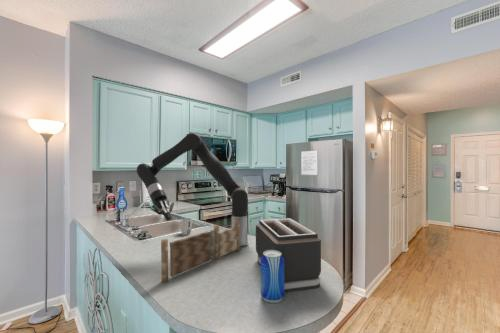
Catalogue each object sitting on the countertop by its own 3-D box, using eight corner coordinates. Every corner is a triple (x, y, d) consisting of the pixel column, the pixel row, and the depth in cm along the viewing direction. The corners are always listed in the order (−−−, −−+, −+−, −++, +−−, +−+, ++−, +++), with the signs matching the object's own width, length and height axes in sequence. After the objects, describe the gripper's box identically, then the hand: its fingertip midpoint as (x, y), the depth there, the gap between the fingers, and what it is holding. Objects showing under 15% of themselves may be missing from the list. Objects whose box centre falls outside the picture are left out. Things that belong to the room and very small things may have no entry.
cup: (189, 236, 158) (188, 221, 158) (177, 235, 160) (177, 220, 160) (194, 232, 166) (194, 218, 166) (183, 231, 168) (183, 217, 167)
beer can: (259, 291, 89) (259, 249, 89) (281, 290, 90) (281, 248, 89) (262, 305, 81) (262, 258, 80) (286, 303, 81) (286, 257, 81)
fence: (237, 248, 134) (236, 218, 133) (240, 249, 132) (240, 219, 132) (160, 281, 97) (159, 240, 97) (163, 283, 95) (163, 241, 95)
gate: (212, 257, 119) (212, 229, 119) (215, 258, 117) (215, 230, 117) (170, 275, 100) (169, 242, 100) (172, 277, 99) (172, 243, 99)
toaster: (289, 254, 126) (289, 216, 125) (323, 287, 92) (323, 235, 92) (254, 257, 121) (254, 218, 121) (276, 293, 88) (276, 239, 87)
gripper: (147, 189, 120) (160, 217, 113) (170, 188, 130) (183, 213, 123) (142, 199, 124) (154, 226, 116) (165, 196, 134) (177, 221, 126)
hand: (169, 219), depth 119 cm, fingers closed
